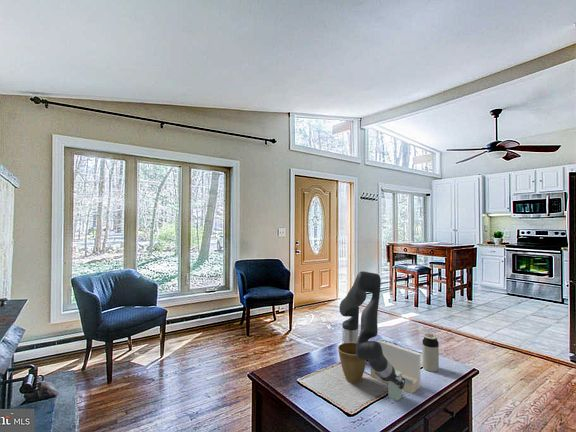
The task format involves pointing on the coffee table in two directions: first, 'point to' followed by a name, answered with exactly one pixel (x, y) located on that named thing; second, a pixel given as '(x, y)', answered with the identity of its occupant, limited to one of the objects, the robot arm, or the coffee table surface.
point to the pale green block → (395, 388)
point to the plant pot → (351, 362)
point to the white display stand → (402, 365)
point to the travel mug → (430, 352)
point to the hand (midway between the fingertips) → (396, 384)
